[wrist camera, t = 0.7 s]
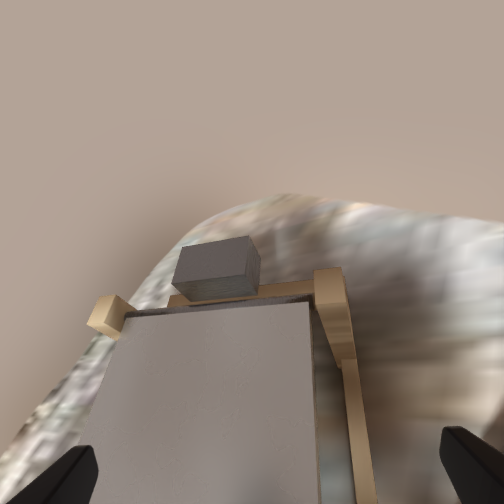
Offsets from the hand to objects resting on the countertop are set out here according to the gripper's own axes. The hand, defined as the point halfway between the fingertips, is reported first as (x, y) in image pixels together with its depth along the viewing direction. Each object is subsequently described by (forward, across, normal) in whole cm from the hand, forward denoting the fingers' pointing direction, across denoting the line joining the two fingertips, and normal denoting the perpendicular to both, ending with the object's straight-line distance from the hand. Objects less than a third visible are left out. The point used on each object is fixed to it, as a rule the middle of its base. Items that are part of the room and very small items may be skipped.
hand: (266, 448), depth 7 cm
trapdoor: (+8, +3, +4) cm, 10 cm away
